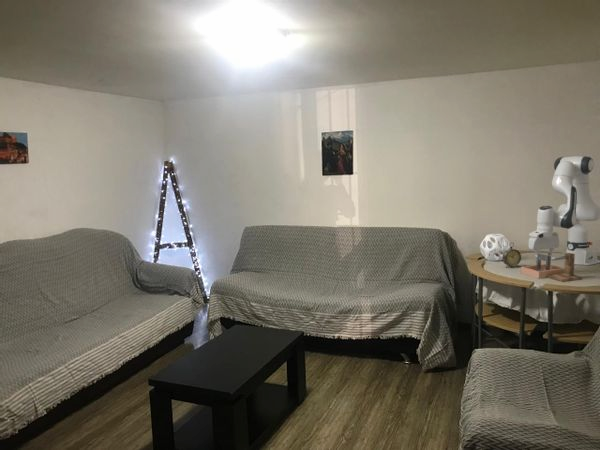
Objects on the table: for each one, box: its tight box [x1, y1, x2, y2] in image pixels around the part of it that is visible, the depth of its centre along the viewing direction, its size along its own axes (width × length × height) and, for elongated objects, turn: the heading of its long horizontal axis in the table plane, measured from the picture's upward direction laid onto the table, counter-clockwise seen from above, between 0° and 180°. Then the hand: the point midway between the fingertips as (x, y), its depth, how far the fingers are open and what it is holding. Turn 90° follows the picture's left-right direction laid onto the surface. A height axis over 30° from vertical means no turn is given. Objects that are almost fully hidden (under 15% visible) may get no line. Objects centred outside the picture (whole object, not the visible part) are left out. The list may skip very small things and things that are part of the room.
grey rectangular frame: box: [535, 253, 552, 271], centre depth 288 cm, size 2×8×10 cm, turn 18°
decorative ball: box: [479, 233, 512, 262], centre depth 329 cm, size 20×20×17 cm
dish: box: [520, 263, 564, 279], centre depth 288 cm, size 20×14×4 cm
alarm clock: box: [502, 241, 522, 269], centre depth 307 cm, size 11×5×16 cm, turn 101°
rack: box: [547, 252, 582, 283], centre depth 276 cm, size 17×10×14 cm, turn 108°
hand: (543, 256), depth 287 cm, fingers open, 8 cm apart
